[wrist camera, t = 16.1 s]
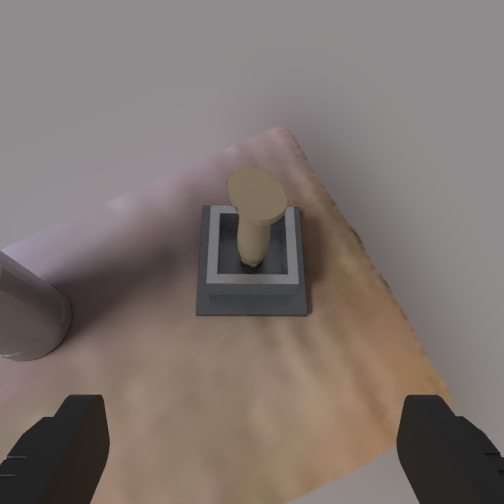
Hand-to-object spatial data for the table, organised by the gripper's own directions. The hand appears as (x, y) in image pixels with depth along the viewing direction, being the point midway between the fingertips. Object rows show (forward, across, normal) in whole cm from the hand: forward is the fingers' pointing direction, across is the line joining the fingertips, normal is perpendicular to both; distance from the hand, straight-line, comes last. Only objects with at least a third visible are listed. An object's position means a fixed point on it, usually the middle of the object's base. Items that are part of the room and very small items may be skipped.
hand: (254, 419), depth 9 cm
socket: (+37, -1, +9) cm, 38 cm away
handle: (+36, -1, +9) cm, 37 cm away
